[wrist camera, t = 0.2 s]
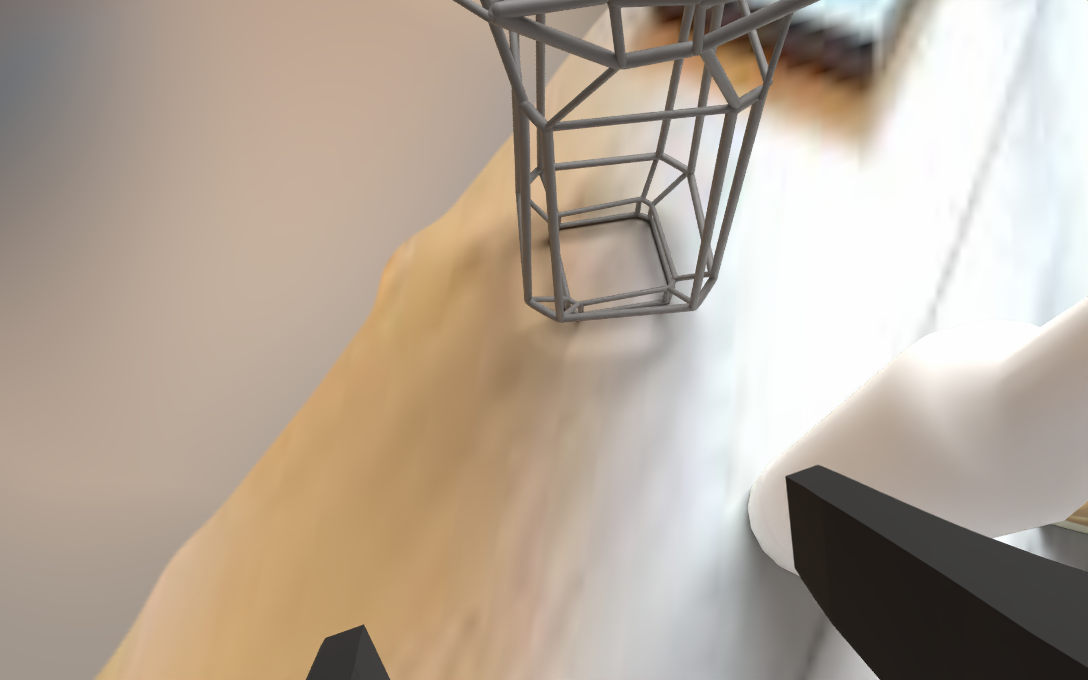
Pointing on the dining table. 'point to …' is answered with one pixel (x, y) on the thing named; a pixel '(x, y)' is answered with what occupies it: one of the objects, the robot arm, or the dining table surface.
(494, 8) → the geometric lantern
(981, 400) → the bottle
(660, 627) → the dining table surface
